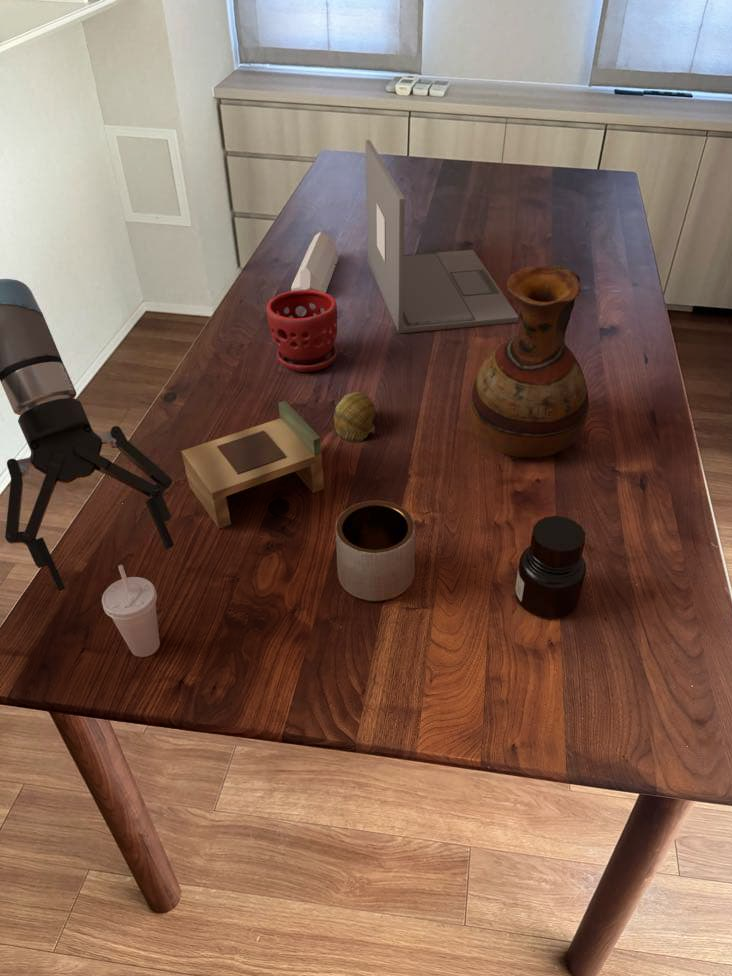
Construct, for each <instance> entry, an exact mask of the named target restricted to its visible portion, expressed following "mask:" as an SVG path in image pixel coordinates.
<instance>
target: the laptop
mask: <svg viewBox="0 0 732 976" xmlns="http://www.w3.org/2000/svg"><path fill="white" fill-rule="evenodd" d="M365 179H366V180H365V187H366V189H365V190H366V191H365V193H366V237H367V239H366V241H367V245H366V246H367V263H368V266H369V268H370V270H371V273H372V275H373V277H374V279H375V282H376V284H377V286H378V289H379V292H380V293H381V296H382V298H383V300H384V303H385V305H386V307H387V310H388V312H389V314H390V317H391V319H392V321H393V324H394V326H395V328H396V330H397V333H398V335H400V334H410V333H420V332H431V331H440V330H441V331H442V330H453V329H461V328H464V329H465V328H473V327H474V328H475V327H484V326H493V325H504V324H516V323H519V318H520V316H519V315H518V313H517V312H516V311H515V309H514V308H513V306H512V305H511V304H510V302H509V300H508V299H507V298H506V296H505V294H504V293H503V291H502V289H500V287H499V286H498V284H497V283H496V281H495V280H494V278H493V277H492V275H491V274H490V272H489V271H488V269H487V268H486V266H485V265H484V264H483V262H482V260H481V259H480V257H479V256H478V255H477V253H476V251H475V250H474V249H465V250H452V251H440V252H428V253H425V252H424V253H414V254H405V219H406V218H405V216H406V215H405V212H406V211H405V210H406V209H405V208H406V199H405V197H404V195H403V194H402V192H401V190H400V188H399V187H398V185H397V183H396V182H395V179H394V178H393V176H392V174H391V172H389V170H388V168H387V166H386V165H385V163H384V161H383V159H382V158H381V156H380V154H379V152H378V151H377V149H376V148H375V146H374V144H373V142H372V140H370V139H368V140H365Z"/></svg>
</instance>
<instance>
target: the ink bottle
mask: <svg viewBox="0 0 732 976" xmlns="http://www.w3.org/2000/svg"><path fill="white" fill-rule="evenodd" d="M586 535H587V534H586V532H585V530H584V528H583V526H582V525H580V524H579V523H578V522H577V521H576V520H573V519H571V518H569V517H566V516H559V515H552V516H544V517H543V518H540V519H539V520H537V521H536V523H535V524H533V527H532V532H531V538H530V545H529V546H527V548H526V549H524V551H523V552H522V554H521V555H520V558H519V561H518V568H517V575H516V581H515V587H514V595H515V599H516V601H517V602H518V604H519V606H520V607H522V608H523V609H524V610H525V611H526V612H527V613H530V614H532V615H534V616H535V617H538V618H542V619H548V620H556V619H561V618H565V617H566V616H568V615H570V614H571V613H572V612H574V611H575V610H576V609H577V607H578V606H579V602H580V598H581V595H582V591H583V587H584V586H583V585H584V582H585V579H586V573H587V564H586V561H585V558H584V557H583V551H584V547H585V544H586Z"/></svg>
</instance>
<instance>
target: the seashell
mask: <svg viewBox="0 0 732 976" xmlns="http://www.w3.org/2000/svg"><path fill="white" fill-rule="evenodd" d="M375 415H376V407H375V404H374V401H373V400H372V399H371V398H370V396H368V394H366V393H364V392H361V391H354V392H351V393H348V394H344V395H343V397H342V398H341V400H340V401H339V402H338V403H337V405H336V407H335V409H334V413H333V424H334V430H335V433H336V434H337V435H338V436H339V437H340V438H342V439H344V440H345V441H348V442H353V443H354V442H357V443H359V442H362V441H364V439H366V438H367V437H368V435H369V434H370V433H371V434H372V435H375V433H376V431H375V430H376V425H374V424H373V419H374V417H375Z"/></svg>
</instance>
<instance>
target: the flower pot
mask: <svg viewBox="0 0 732 976" xmlns="http://www.w3.org/2000/svg"><path fill="white" fill-rule="evenodd" d="M310 304H313V305H314V306H315V307H314V308H312V307H311V305H310ZM337 305H338V304H337V301H336V299H335V297H333V296H332V295H331V294H328V293H327V292H326V293H324V292H320V291H315V290H296V291H291V290H289V291H287V292H283V293H280V294H278V295H276V296H274V297H272V298H271V299H270V300H269V301H268V302H267V304H266V307H265V309H266V316H267V322H268V325H269V326H268V327H269V331H270V335H271V338H272V340H273V342H274V345H275V346H276V348H277V353H276V356H277V360H278V361H279V363H280V364H281V365H282V366H283V367H285V368H287V369H289V370H290V371H291V370H292V371H296V372H301V373H302V372H305V373H308V372H316V371H319V370H322V369H324V368H327V367H328V366H330V365H331V364H332V363H333V362H334V361H335V359H336V357H337V355H338V349H337V346H336V345H335V342H336V338H337V334H338V307H337ZM298 307H302V308H304V309H305V311H306V312H305V314H304V315H298V314H297V312H296V310H297V308H298ZM286 308H288V311H287V312H286V313H285V309H286ZM321 309H323V310H324V312H321ZM314 314H315V315H314Z"/></svg>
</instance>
